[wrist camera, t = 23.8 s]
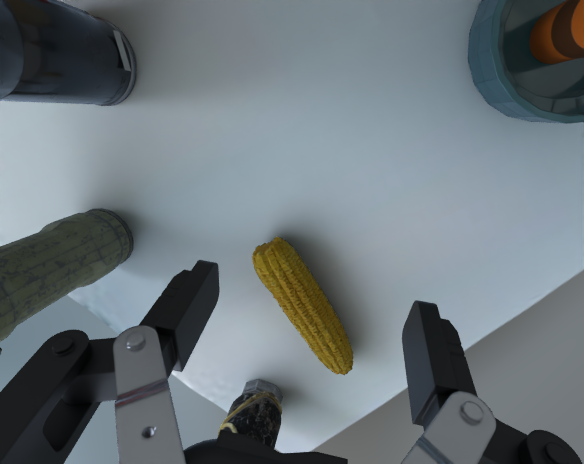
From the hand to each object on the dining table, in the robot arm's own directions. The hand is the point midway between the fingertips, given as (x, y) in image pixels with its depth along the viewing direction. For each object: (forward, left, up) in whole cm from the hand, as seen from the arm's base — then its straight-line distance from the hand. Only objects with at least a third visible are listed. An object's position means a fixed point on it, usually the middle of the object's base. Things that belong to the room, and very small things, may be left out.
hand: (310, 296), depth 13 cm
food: (+10, -13, -28) cm, 32 cm away
